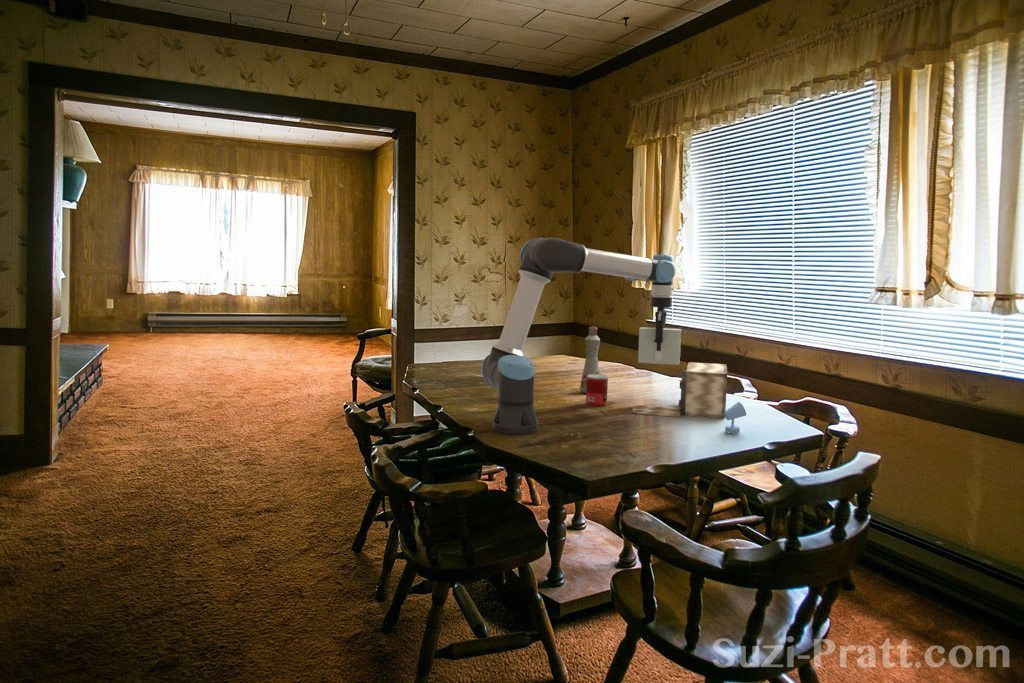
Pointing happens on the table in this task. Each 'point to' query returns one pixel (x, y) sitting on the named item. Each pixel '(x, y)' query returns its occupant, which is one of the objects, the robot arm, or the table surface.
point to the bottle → (590, 357)
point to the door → (670, 346)
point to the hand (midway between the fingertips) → (658, 358)
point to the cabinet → (697, 393)
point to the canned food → (596, 389)
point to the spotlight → (734, 413)
